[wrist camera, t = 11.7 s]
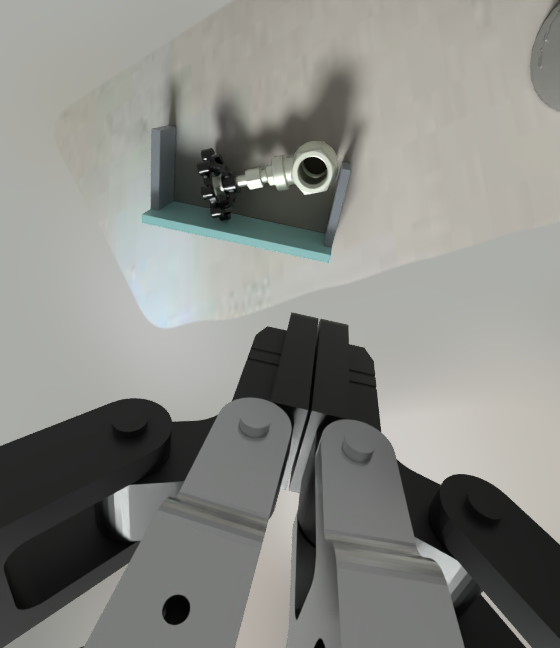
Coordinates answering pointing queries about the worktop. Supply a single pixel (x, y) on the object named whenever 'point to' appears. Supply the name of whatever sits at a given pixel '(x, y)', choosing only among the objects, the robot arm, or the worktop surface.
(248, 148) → the worktop surface
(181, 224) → the walled bay
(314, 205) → the worktop surface
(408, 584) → the robot arm
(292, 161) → the valve
